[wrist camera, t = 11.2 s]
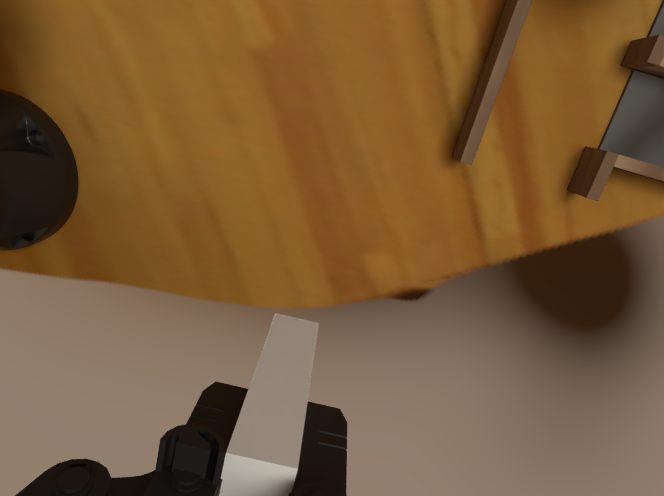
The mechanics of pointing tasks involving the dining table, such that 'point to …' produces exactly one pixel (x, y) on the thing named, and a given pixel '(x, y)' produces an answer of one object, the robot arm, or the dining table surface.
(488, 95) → the trap lane
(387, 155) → the dining table surface
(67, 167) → the robot arm
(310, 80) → the dining table surface
